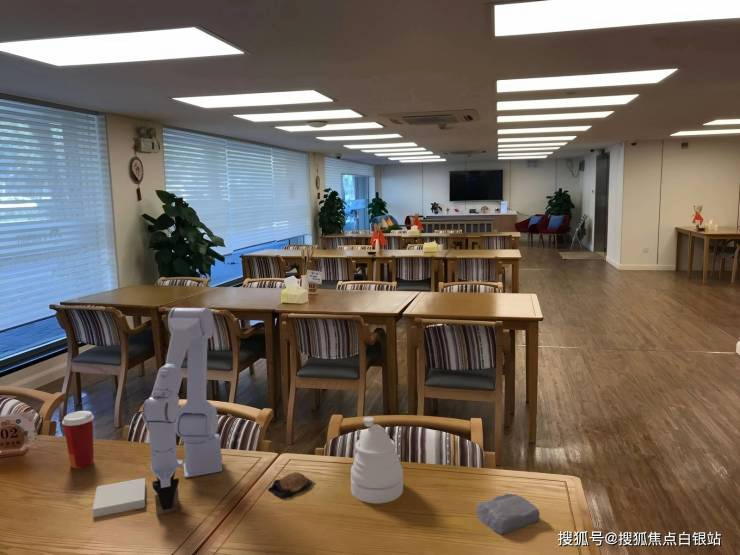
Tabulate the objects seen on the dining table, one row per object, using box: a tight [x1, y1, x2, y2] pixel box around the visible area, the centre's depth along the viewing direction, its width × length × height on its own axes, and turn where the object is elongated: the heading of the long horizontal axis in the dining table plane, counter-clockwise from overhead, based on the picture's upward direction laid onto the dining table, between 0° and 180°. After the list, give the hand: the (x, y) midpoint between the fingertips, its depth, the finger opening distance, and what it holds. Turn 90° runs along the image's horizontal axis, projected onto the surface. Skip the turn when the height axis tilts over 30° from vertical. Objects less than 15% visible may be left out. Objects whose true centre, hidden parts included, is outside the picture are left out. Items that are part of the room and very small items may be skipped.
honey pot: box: [350, 416, 404, 504], centre depth 136 cm, size 13×13×18 cm
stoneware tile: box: [92, 477, 146, 518], centre depth 134 cm, size 11×11×2 cm
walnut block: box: [154, 486, 180, 516], centre depth 131 cm, size 5×5×5 cm
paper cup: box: [61, 410, 95, 469], centre depth 152 cm, size 8×8×14 cm
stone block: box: [476, 493, 541, 536], centre depth 124 cm, size 12×5×10 cm
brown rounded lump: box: [267, 471, 316, 500], centre depth 139 cm, size 11×8×4 cm
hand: (167, 501), depth 131 cm, fingers open, 6 cm apart
